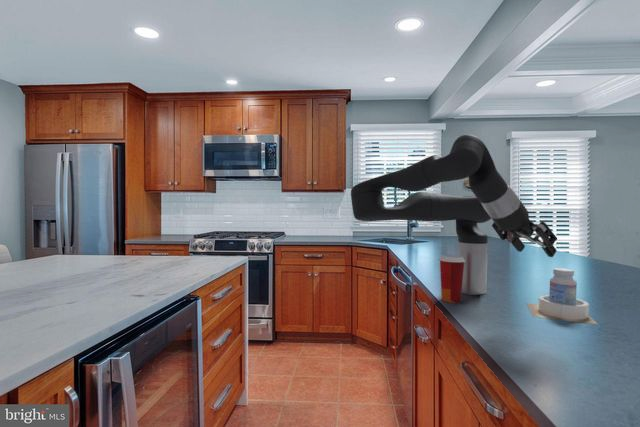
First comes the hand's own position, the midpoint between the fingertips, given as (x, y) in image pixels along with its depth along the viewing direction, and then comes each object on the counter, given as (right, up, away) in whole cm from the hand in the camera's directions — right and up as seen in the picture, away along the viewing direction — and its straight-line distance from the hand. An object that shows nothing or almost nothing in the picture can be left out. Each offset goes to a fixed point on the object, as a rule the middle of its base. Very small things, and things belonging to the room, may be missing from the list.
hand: (536, 251), depth 88 cm
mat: (+11, -18, +8) cm, 23 cm away
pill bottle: (+12, -17, +8) cm, 22 cm away
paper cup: (-14, -18, +21) cm, 31 cm away
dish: (+12, -18, +8) cm, 23 cm away
